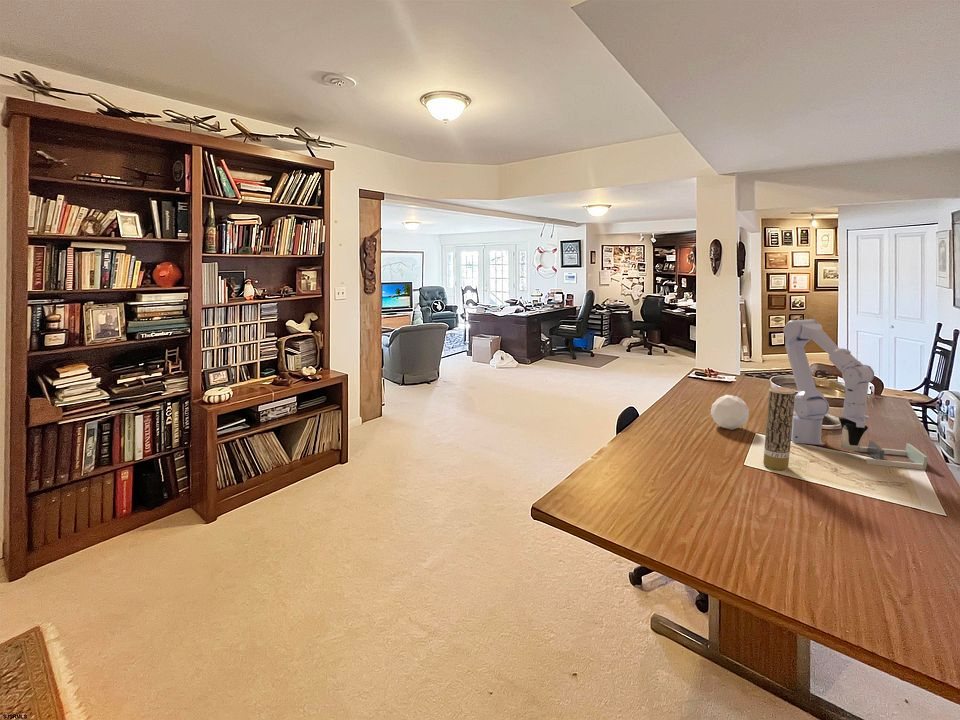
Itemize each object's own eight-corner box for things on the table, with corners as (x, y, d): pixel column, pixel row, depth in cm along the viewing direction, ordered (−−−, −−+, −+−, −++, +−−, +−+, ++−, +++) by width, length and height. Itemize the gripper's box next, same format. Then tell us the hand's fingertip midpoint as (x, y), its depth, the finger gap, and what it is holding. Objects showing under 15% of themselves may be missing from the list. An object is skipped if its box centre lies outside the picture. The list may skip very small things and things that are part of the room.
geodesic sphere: (698, 407, 200) (711, 386, 190) (729, 405, 201) (744, 384, 191) (713, 436, 190) (728, 416, 180) (745, 434, 192) (762, 414, 182)
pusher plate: (878, 462, 154) (880, 450, 153) (867, 451, 163) (869, 440, 162) (882, 462, 153) (884, 450, 153) (871, 452, 162) (872, 440, 162)
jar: (843, 449, 159) (845, 428, 157) (838, 444, 163) (840, 423, 162) (861, 451, 157) (864, 429, 156) (856, 446, 162) (858, 425, 160)
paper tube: (758, 463, 156) (764, 387, 152) (778, 461, 157) (785, 386, 152) (772, 471, 149) (779, 392, 145) (793, 470, 150) (800, 391, 146)
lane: (866, 463, 154) (868, 451, 153) (853, 450, 165) (854, 438, 165) (925, 469, 148) (927, 457, 148) (908, 455, 160) (909, 443, 159)
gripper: (878, 409, 149) (873, 451, 152) (862, 397, 163) (857, 436, 165) (851, 407, 152) (846, 448, 154) (837, 396, 165) (833, 434, 168)
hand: (850, 442), depth 160 cm, fingers closed on jar, 5 cm apart
